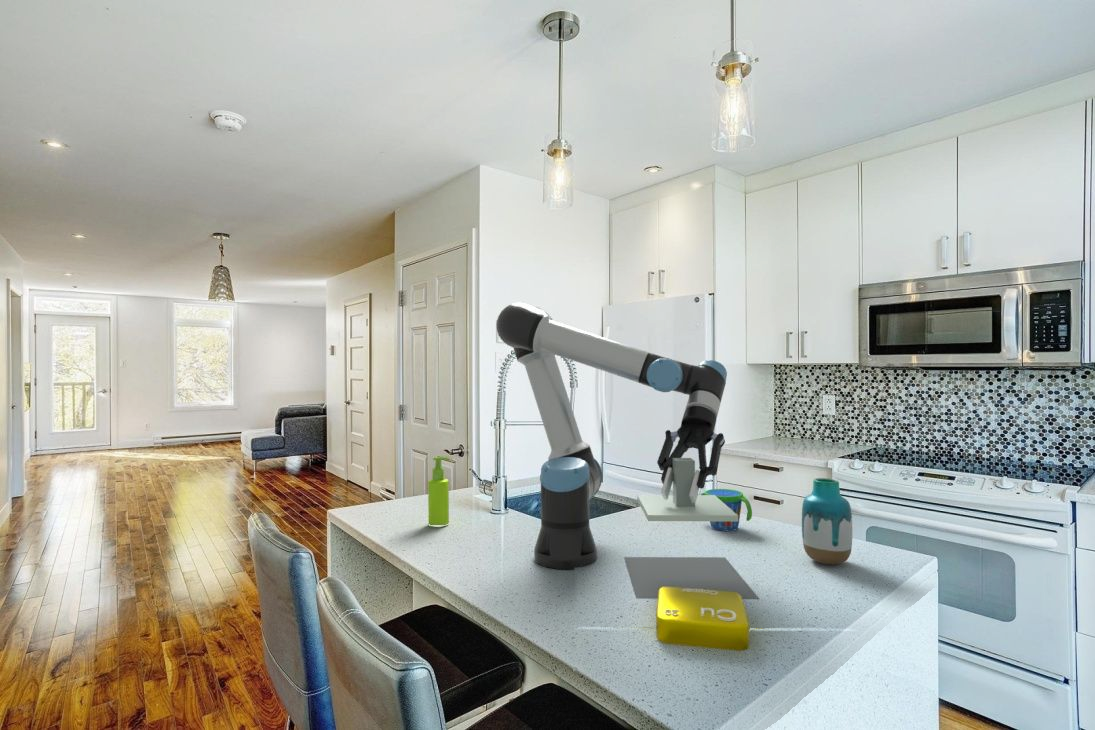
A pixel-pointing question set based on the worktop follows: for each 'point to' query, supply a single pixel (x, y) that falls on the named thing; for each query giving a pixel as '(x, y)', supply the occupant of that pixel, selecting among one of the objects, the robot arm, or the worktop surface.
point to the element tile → (702, 618)
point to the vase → (827, 523)
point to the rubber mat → (684, 575)
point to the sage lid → (684, 500)
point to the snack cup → (733, 502)
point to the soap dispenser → (438, 495)
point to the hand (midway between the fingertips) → (678, 497)
